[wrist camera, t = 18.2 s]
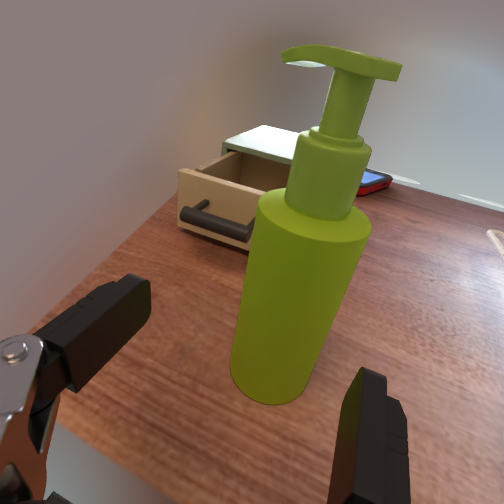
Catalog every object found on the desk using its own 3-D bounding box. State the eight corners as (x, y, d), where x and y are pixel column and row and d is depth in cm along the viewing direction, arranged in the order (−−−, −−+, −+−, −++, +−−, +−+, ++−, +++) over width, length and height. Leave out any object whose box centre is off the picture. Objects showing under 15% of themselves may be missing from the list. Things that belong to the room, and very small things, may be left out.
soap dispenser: (270, 319, 27) (339, 52, 16) (323, 382, 22) (471, 70, 12) (209, 341, 24) (245, 31, 13) (257, 420, 19) (373, 47, 8)
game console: (342, 166, 71) (345, 157, 70) (393, 187, 64) (397, 177, 63) (304, 174, 62) (307, 163, 61) (358, 199, 55) (362, 187, 54)
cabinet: (309, 228, 43) (327, 168, 38) (216, 199, 46) (222, 141, 41) (329, 191, 56) (343, 144, 51) (255, 171, 59) (263, 124, 55)
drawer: (270, 287, 29) (285, 225, 26) (152, 243, 32) (150, 182, 29) (313, 211, 45) (325, 167, 42) (231, 187, 49) (237, 143, 45)
